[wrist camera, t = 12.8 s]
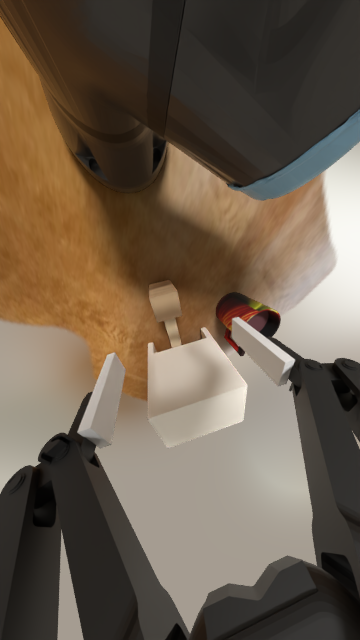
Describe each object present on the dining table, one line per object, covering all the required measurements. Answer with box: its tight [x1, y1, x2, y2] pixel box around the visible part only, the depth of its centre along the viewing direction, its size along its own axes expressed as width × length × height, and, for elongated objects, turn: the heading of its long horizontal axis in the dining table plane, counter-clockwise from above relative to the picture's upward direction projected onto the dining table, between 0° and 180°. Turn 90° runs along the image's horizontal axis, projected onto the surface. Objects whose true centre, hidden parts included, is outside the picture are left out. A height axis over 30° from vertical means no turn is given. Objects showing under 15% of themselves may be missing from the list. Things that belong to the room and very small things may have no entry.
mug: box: [216, 292, 281, 356], centre depth 35 cm, size 10×14×12 cm
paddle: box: [149, 280, 182, 348], centre depth 33 cm, size 25×5×10 cm, turn 11°
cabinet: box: [148, 327, 247, 448], centre depth 35 cm, size 15×18×20 cm
